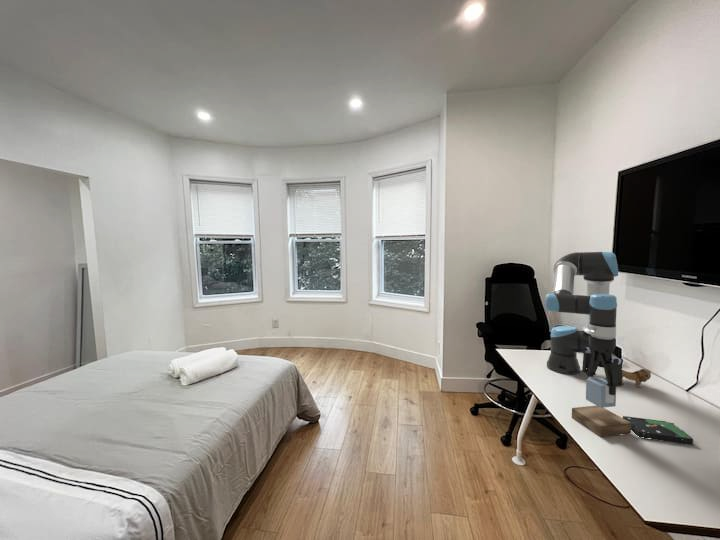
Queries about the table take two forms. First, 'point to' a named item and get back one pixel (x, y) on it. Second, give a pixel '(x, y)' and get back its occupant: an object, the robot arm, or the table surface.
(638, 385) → the lion figurine
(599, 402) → the slate block
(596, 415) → the walnut base
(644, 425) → the disk drive
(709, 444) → the table surface
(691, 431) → the table surface
